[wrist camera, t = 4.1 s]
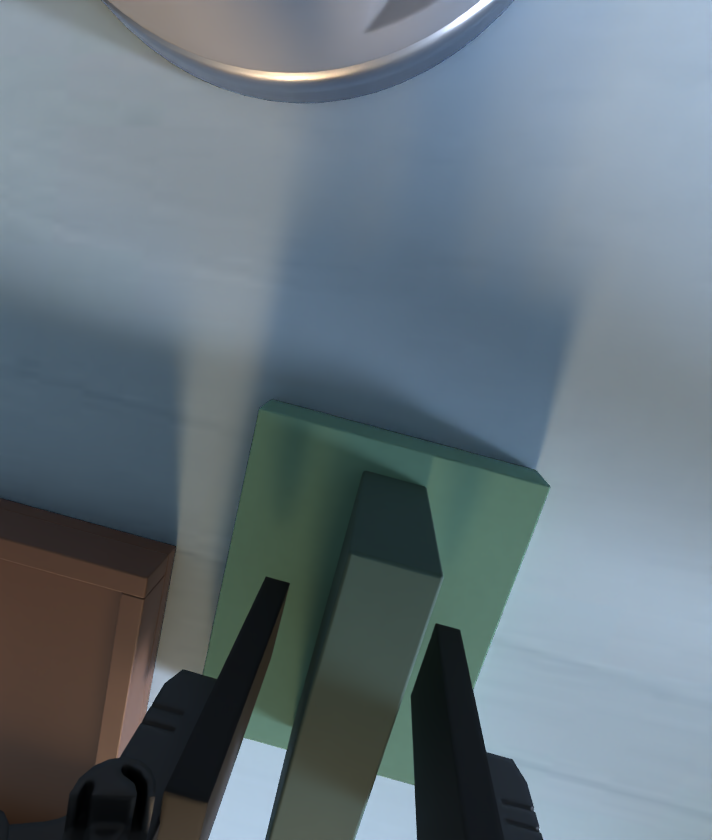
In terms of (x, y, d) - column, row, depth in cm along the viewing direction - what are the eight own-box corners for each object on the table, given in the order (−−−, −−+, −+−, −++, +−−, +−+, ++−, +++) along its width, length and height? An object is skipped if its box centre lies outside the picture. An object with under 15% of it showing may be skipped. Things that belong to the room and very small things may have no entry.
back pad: (271, 398, 16) (189, 459, 9) (536, 469, 16) (635, 580, 9) (207, 691, 19) (111, 889, 12) (431, 753, 18) (451, 985, 12)
